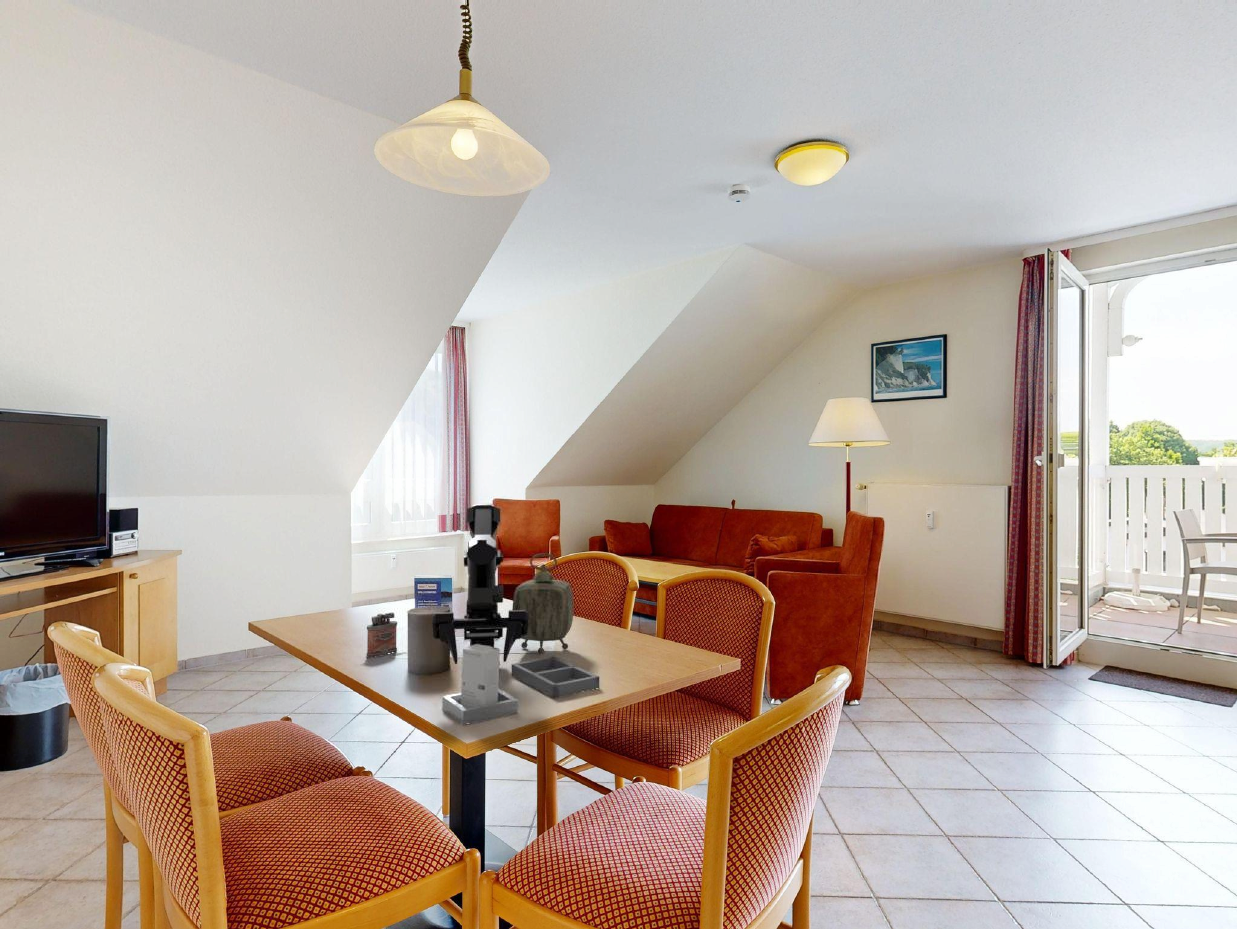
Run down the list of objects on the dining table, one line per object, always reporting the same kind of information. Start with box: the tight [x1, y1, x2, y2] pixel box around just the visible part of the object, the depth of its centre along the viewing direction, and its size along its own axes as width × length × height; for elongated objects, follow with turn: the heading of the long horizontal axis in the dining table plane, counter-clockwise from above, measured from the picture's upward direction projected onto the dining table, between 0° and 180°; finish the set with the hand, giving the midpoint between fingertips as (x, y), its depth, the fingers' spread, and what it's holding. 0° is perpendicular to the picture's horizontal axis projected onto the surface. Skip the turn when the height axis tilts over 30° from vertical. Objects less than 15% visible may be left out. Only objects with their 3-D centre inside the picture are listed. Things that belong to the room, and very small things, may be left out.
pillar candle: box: [407, 604, 451, 675], centre depth 158 cm, size 10×10×15 cm
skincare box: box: [460, 644, 501, 709], centre depth 130 cm, size 6×4×12 cm
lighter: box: [366, 612, 398, 658], centre depth 171 cm, size 8×3×10 cm, turn 143°
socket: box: [441, 687, 519, 726], centre depth 130 cm, size 10×11×2 cm
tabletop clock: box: [511, 553, 575, 655], centre depth 174 cm, size 14×9×25 cm, turn 84°
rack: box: [511, 656, 600, 699], centre depth 149 cm, size 19×11×2 cm, turn 36°
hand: (480, 661), depth 132 cm, fingers open, 9 cm apart
